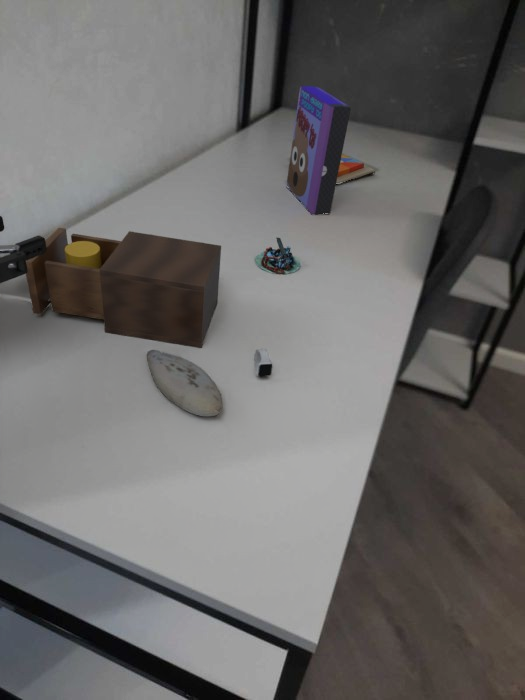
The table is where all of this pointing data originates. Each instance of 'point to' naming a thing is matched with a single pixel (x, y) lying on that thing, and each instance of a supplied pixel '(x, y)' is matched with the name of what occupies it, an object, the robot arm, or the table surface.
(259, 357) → the smartwatch
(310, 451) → the table surface
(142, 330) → the cabinet
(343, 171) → the wooden puzzle
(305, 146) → the cereal box
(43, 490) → the table surface
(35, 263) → the drawer
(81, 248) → the tape canister
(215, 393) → the decorative stone
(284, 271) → the dish
